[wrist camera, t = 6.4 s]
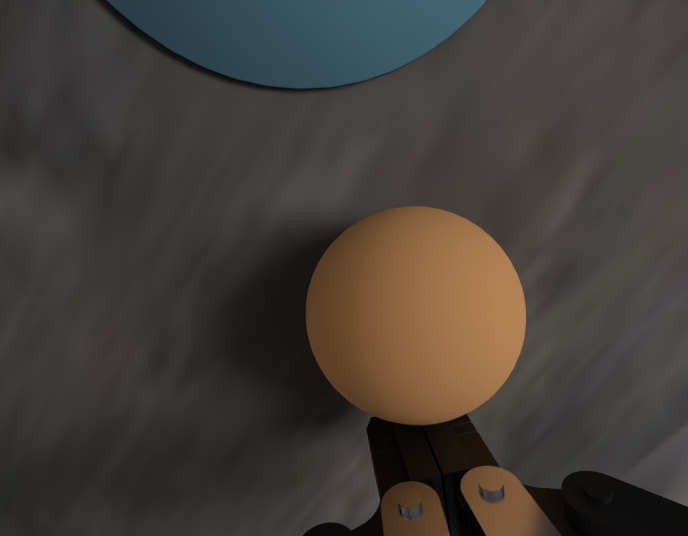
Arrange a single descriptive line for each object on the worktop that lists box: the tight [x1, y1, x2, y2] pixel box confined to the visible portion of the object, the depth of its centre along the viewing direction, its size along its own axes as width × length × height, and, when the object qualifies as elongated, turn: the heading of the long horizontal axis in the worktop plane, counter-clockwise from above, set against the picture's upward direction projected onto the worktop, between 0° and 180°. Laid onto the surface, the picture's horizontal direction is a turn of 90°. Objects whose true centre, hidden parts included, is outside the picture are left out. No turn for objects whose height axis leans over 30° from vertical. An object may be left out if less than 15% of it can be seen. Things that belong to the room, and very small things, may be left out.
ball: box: [306, 206, 526, 425], centre depth 11 cm, size 6×6×6 cm
